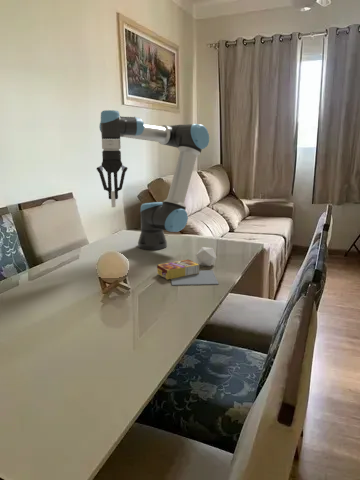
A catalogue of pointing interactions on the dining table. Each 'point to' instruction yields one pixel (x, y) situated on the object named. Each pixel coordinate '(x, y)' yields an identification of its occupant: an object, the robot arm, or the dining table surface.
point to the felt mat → (196, 279)
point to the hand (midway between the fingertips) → (113, 206)
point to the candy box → (178, 269)
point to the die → (206, 256)
